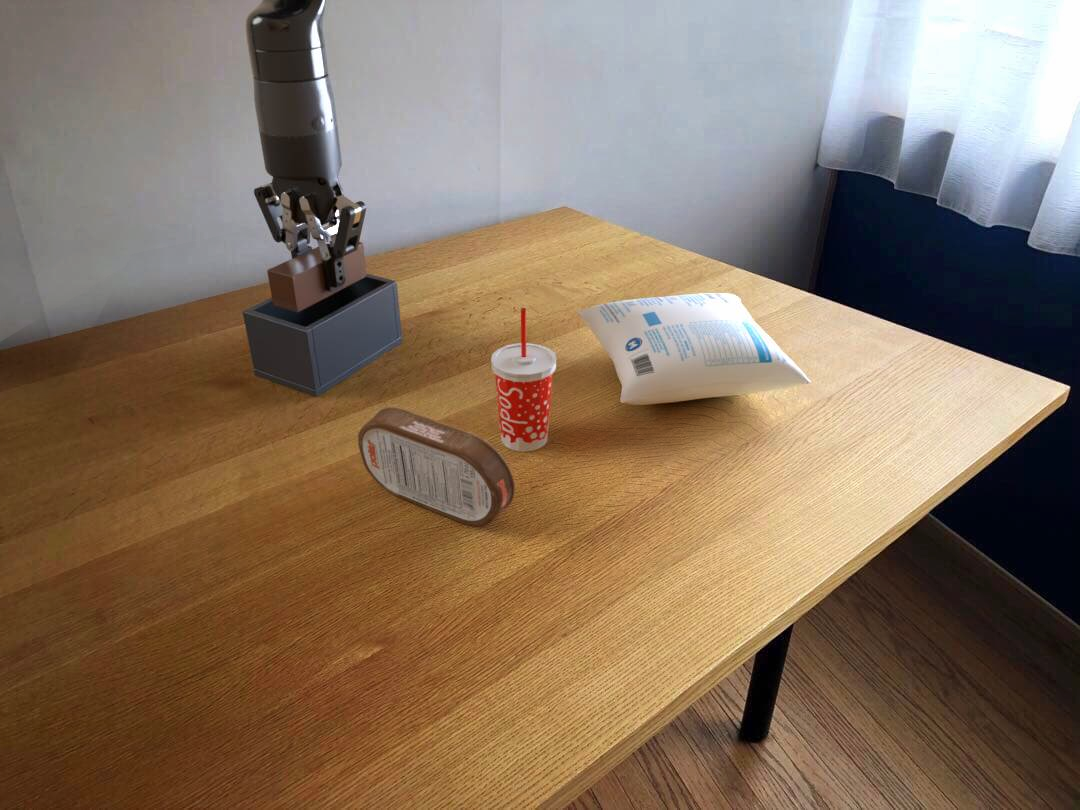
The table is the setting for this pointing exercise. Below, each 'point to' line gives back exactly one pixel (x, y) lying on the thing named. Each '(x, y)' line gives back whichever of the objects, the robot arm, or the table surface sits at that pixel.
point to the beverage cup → (523, 392)
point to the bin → (324, 335)
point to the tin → (436, 466)
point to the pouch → (689, 348)
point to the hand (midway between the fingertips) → (320, 284)
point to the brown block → (310, 278)
